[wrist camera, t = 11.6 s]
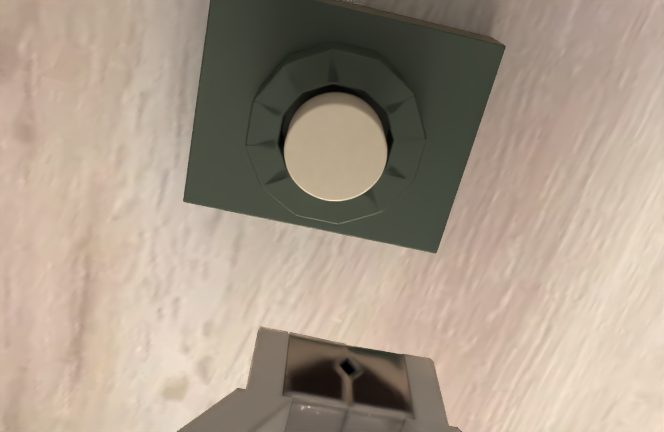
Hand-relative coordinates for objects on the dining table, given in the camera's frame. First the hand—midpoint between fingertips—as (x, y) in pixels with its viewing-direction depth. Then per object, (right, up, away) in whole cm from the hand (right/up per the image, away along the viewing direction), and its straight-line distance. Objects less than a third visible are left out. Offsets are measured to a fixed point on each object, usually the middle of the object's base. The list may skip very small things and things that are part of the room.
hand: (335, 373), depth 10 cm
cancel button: (0, +6, +12) cm, 13 cm away
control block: (0, +7, +16) cm, 17 cm away
